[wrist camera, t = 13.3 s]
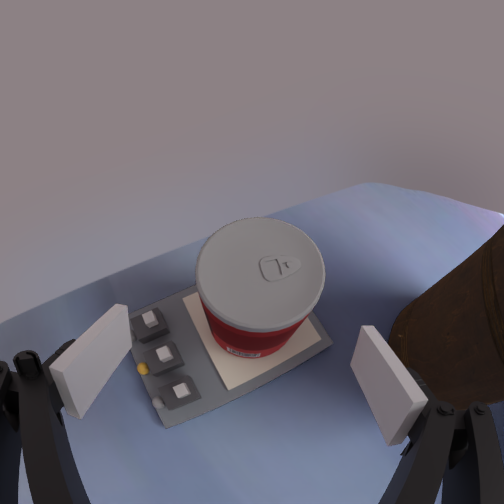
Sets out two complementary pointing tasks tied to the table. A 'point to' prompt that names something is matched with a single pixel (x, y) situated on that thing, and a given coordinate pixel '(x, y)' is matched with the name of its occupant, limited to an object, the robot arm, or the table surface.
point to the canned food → (258, 284)
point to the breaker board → (204, 358)
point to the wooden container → (459, 330)
